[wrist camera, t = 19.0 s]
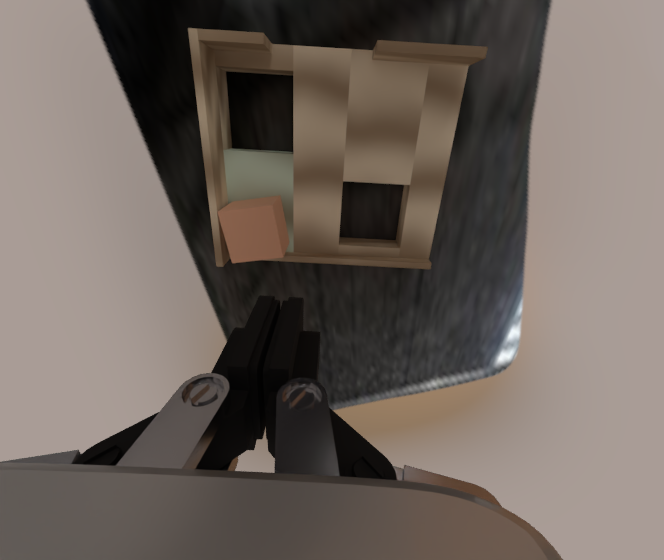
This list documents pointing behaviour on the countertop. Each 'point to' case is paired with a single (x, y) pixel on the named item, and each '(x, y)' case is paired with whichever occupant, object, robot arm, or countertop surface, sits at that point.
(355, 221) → the countertop surface
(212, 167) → the wooden cubby shelf
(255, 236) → the block
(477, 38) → the countertop surface
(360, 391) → the countertop surface
